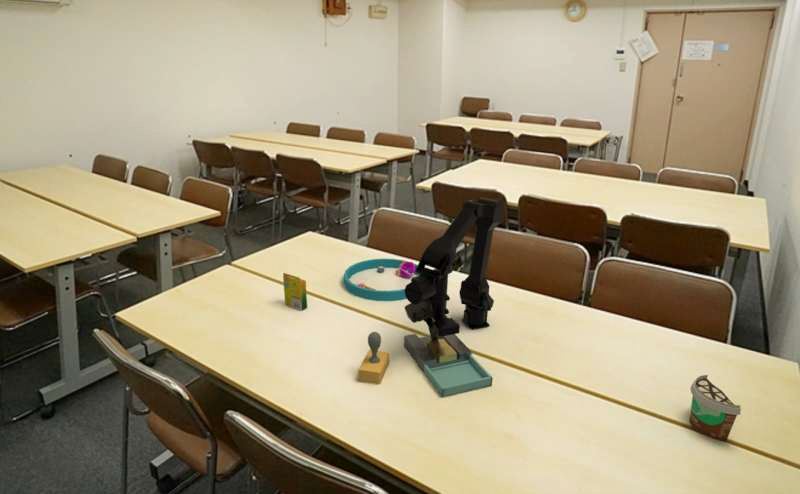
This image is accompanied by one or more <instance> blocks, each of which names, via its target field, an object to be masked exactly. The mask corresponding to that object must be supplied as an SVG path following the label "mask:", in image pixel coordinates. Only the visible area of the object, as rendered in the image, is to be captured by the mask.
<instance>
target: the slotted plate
mask: <svg viewBox="0 0 800 494" xmlns="http://www.w3.org/2000/svg"><path fill="white" fill-rule="evenodd" d="M439 339H444V340H445V341H446V343H447V344H448V345H449V346H451V347H452V348H453V349H454V351H455V352H456V353H457V359H456V360H453V361H448V362H443V363H439V362H438V361H437V359H436V358H435V357H434V356H433V354H432V353H431V352H430V351H429V350H428V348H427V342H428V341H432V340H431V336H430V335H425V336H420V337H419V336H418V335H417V334H416V333H413V334H407V335H404V336H403V347H404V349H405V350H406V351H407V353H408V354H409V355H410V356H411V358H412V360H413V361H414V362H415V363H416V365H417V366H418V368H419V369H420V370H421V371H422V373H423V374H424V365H427V366H428V368H429V369H431V368H436V367H440V366H445V365H450V364H454V363H459V362H464V361H468V360H469V356H470V355H472V354H473V352H472V350H471V349H469V347H467V345H466V344H465V343H464V342H463V341H462V340H461V339H460V338H459V336H457V334H453V335H447V336H442V337H441V336H440V337H439V338H438V340H439ZM472 356H473V355H472Z"/></svg>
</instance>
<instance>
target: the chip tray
mask: <svg viewBox="0 0 800 494" xmlns="http://www.w3.org/2000/svg"><path fill="white" fill-rule="evenodd" d="M423 374H424V376H425V377H426V378H427V380H428V381H429V382H430V384H431V385H432V386H433V388H434V389H435V391H436V392H437V393H438V394H439V395H440V397H441V399H442V398H447V397H451V396H454V395H459V394H463V393H467V392H471V391H472V392H473V391H475V390H479V389H485V388H488V387H492V386H493V376H492V375H491V374H490V373H489V372H488V371H487V369H485V368H484V367H483V366H482V364H481V363H479V361H478V360H477V359H476V357H474V356H473V355H470V356H469V360H468V361H464V362H459V363H454V364H450V365H445V366H440V367H436V368H431V369H429V368H428V366H427V365H424V373H423Z"/></svg>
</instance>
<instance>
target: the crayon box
mask: <svg viewBox="0 0 800 494" xmlns="http://www.w3.org/2000/svg"><path fill="white" fill-rule="evenodd" d="M282 275H283V276H282V277H283V279H282V280H283V291H284V293H283V295H284V306H286V307H289V308H293V309H296V310H299V311H300V312H302V311H305V310H306V309H307V308H308V299H307V297H308V295H307V294H308V293H307V281H306V280H305V279H301V277H299V276H295V275H292V274H289V273H285V272H283V274H282Z"/></svg>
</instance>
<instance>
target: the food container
mask: <svg viewBox="0 0 800 494" xmlns="http://www.w3.org/2000/svg"><path fill="white" fill-rule="evenodd" d="M708 376H709V375H708V374H702V375H699V376H698V377H696V378H695V380H694V381H693V382H692V384H691V386H690V393H691V395H692V398H691V405H690V406H691V407H690V413H689V419H688V420H689V423H690V425H691V426H692V428H693V429H694V430H696V431H697V432H698V433H700V434H701V435H703V436H705V437H708V438H710V439H714V440H719V441H727V440H728V438H729V435H730V434H731V431H732V428H733V426H734V424H735V421H736V418H737V416H740V415H741V410H742V408H741V405H740V404H734V403H733V402H732V400H730V399H729V397H728V396H727V395H726V394H725V393H724V391H722V390H721V389H720V388H718V387H717V386H716V385H714V384H713V383H712V382H711V380H709V379H708Z"/></svg>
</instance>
